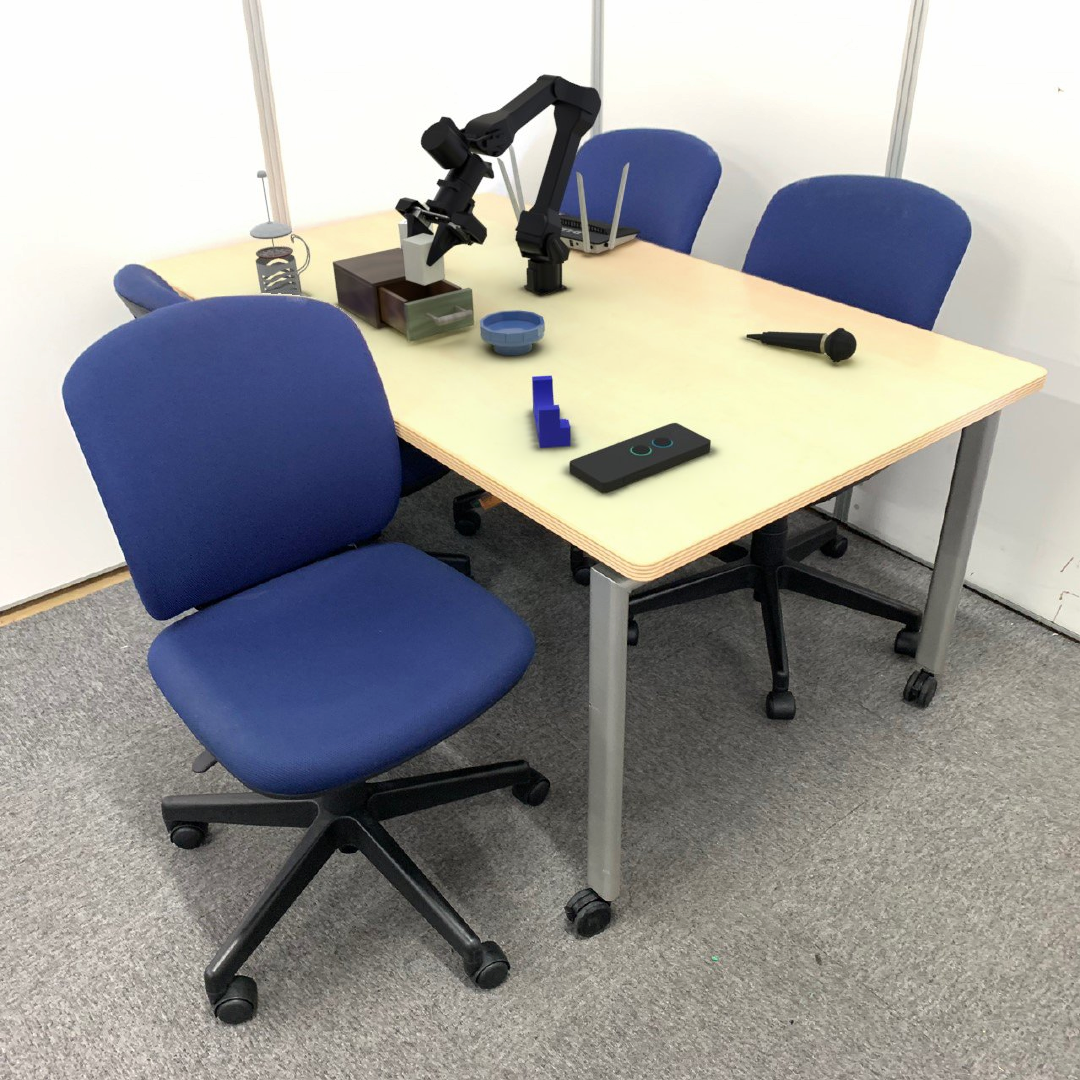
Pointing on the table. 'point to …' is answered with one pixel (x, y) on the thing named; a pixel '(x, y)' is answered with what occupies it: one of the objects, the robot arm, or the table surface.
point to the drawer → (425, 307)
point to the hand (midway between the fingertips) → (418, 262)
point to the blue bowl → (512, 331)
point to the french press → (277, 257)
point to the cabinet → (367, 282)
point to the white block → (421, 260)
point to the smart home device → (639, 457)
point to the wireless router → (574, 228)
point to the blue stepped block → (548, 415)
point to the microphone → (813, 342)
